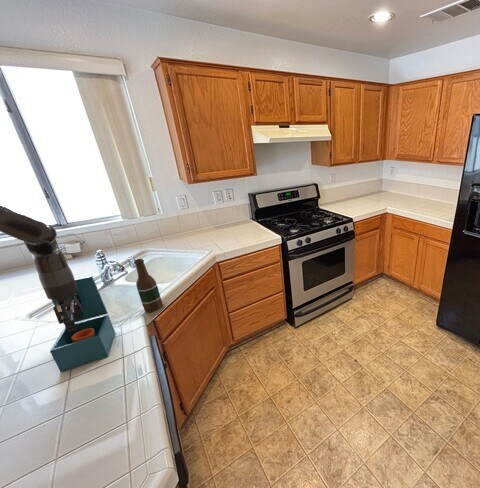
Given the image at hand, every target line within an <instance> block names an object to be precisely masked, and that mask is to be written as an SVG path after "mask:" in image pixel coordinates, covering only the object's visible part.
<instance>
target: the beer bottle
mask: <svg viewBox="0 0 480 488" xmlns="http://www.w3.org/2000/svg"><path fill="white" fill-rule="evenodd" d="M133 264H134V265H135V268H136V272H137V273H136V274H137V279H136V283H135V286H136V290H137V293H138V296H139V299H140V302H141V305H142V308H143V310H144V312H146V313H150V312H152V313H153V312H154V311H158V310H159V309H161V308H162V307H163V301H162V297H161V294H160V291H159V287H158V284H157V281H156V280H155V278H153V276H152V275H151V274H149V272H148V270H147V267H146V265H145V260H144V259H143V258H137V259H135V260H134V261H133Z"/></svg>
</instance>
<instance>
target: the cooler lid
mask: <svg viewBox="0 0 480 488" xmlns="http://www.w3.org/2000/svg"><path fill="white" fill-rule="evenodd" d="M75 281H76V283H77V286H78V289H79V290H78V291H77V292H78V294H79V297H80V299H81V301H82V304H80V305H81V307H80V308H81V310H82V313H83V315H84V316H83V318H80V319H75V317H74V315H73V320H74V322H75V323H78V322H82V321H85V320H89V319H93V318H96V317H100V316H104V315H107V314H108V309H107V307H106V305H105V302H104V300H103V298H102V296H101V295H102V294H101V293H100V290H99V289H98V285H97V284H96V281H95V279H94V276H93V275H90V276H89V275H88V276H84V277H78V278H75ZM51 301H52V304H53V305H54V307H55V306H57V300H51ZM108 315H109V314H108ZM65 318H66V316H65Z"/></svg>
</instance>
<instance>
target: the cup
mask: <svg viewBox="0 0 480 488" xmlns="http://www.w3.org/2000/svg"><path fill="white" fill-rule="evenodd" d="M95 336H96V333H95V331H94V329H92V328H89V329H84V330H82V331H79V332H77V333H76V334H74V335H73V336H72V338H71V339H72V341H73V343H75V342H78V341H81V340H85V339H88V338H91V337H95Z"/></svg>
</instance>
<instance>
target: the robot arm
mask: <svg viewBox="0 0 480 488" xmlns="http://www.w3.org/2000/svg"><path fill="white" fill-rule="evenodd" d="M0 233H2V234H5V235H6V236H9V237H12V238H14V239H17V240H19V241H22V242H23V243H24V245H25V247H26V249H27V250H28V252H29V254H30V256H31V258H32V263H33V266H34V268H35V269H36V272H37V276H38V279H39V282H40V284H41V286H42V289H43V291H44V294H45V295H46V298H47V299H48V300H49V301H50V300H51V301H52V300H57V306H55V305H54V306H53V307H52V308H53V311H54V314H55V317H56V319H57V322H58V324H59V325H62V324H63V325H64V328H65V327H66V329H67V331H68V332H71V331H75V330H76V329H77V327H76V325H75V323H76V322H74V320H73V315H74V317H75V319H80V318H83V316H84V315H83V313H82V310H81V308H80V307H81V305H80V304H82V301H81V299H80V297H79V294H78V292H77V291H78V290H79V289H78V286H77V283H76V281H75V279H76V278H75V276H74V274H73V271H72V269H71V268H70V266H69V264H68V262H67V259H66V256H65V254H64V252H63V251H62V250H61V249H60V247H59V244H58V241H57V236H58V232H57V229H56V228H55V227H54V226H52V225H51V224H49V222H48V223H47V222H46V221H43V220H39V219H36V218H33V217H31V216H28V215H26V214H22V213H20V212H17V211H16V210H14V209H12V208H10V207H8V206H7V205H6V206H5V205H3V204H0ZM65 316H66V318H65Z"/></svg>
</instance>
